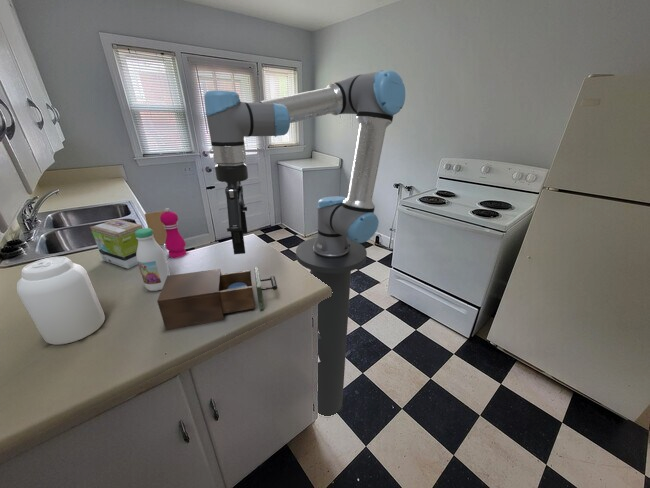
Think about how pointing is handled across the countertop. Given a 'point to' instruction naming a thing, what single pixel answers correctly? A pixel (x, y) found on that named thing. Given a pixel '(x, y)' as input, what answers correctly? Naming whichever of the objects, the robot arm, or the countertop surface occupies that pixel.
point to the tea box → (117, 242)
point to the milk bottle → (151, 260)
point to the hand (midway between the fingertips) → (241, 242)
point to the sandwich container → (156, 226)
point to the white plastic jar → (60, 300)
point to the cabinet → (191, 299)
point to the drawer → (241, 291)
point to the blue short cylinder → (237, 285)
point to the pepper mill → (173, 234)
